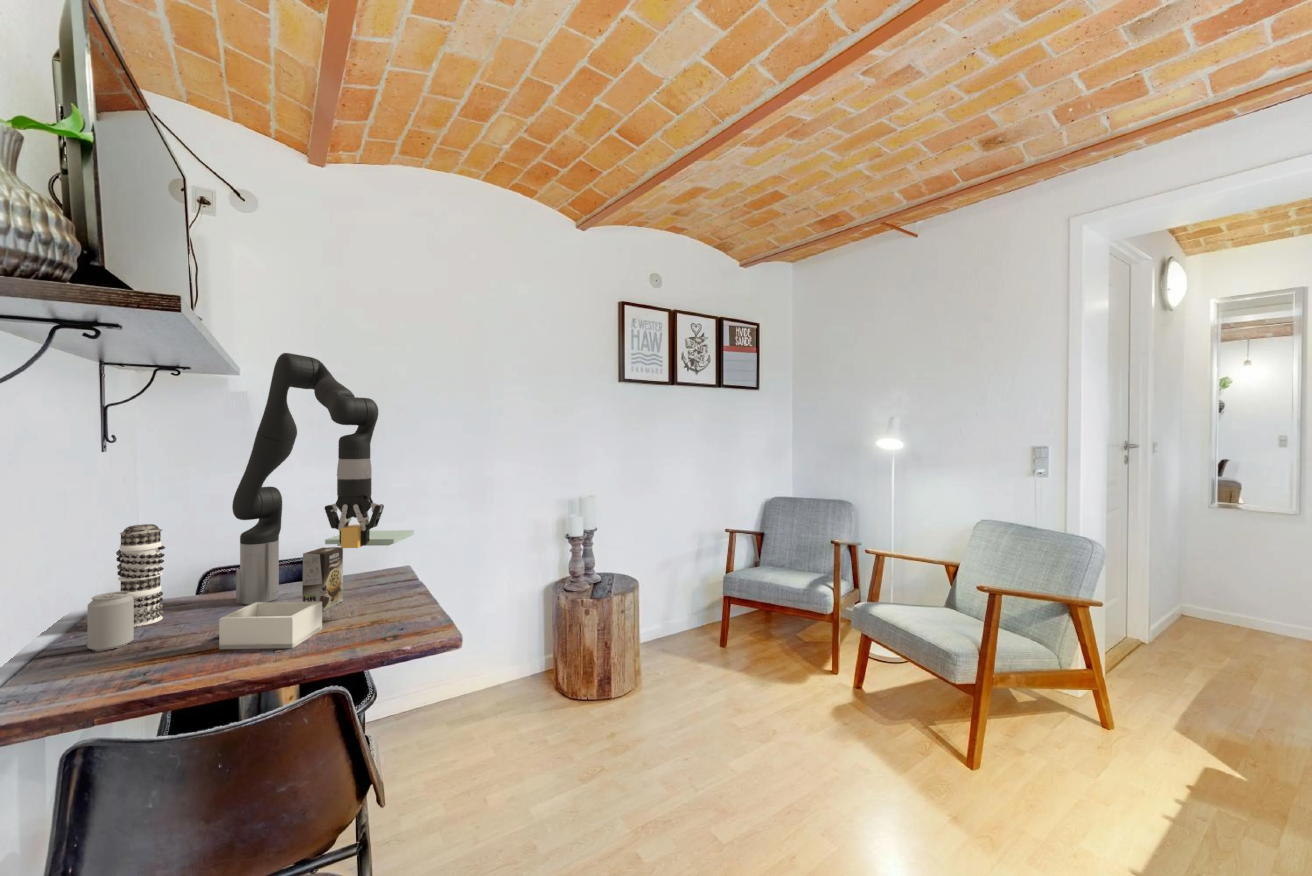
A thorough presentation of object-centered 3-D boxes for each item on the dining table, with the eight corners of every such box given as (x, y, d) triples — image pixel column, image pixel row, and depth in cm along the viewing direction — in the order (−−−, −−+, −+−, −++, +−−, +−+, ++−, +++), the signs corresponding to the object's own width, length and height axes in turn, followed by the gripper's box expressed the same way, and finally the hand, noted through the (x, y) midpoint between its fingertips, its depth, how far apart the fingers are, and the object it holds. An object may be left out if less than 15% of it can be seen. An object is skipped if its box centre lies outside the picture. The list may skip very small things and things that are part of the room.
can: (104, 654, 120) (104, 600, 120) (78, 651, 121) (78, 598, 121) (142, 641, 127) (142, 590, 127) (117, 639, 129) (117, 588, 129)
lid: (313, 551, 133) (313, 527, 133) (351, 538, 151) (351, 517, 151) (384, 551, 134) (384, 527, 134) (413, 537, 152) (413, 516, 152)
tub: (219, 649, 123) (219, 618, 123) (255, 630, 135) (255, 602, 135) (292, 648, 124) (292, 617, 124) (322, 629, 136) (322, 601, 136)
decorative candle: (141, 615, 146) (141, 522, 146) (174, 616, 145) (174, 523, 145) (105, 627, 136) (105, 528, 136) (140, 628, 136) (140, 528, 136)
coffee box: (324, 611, 149) (324, 553, 149) (301, 611, 149) (301, 553, 149) (343, 601, 159) (344, 546, 158) (322, 601, 159) (322, 546, 159)
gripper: (390, 475, 140) (390, 542, 140) (333, 475, 139) (333, 542, 139) (376, 478, 132) (376, 548, 132) (316, 478, 132) (316, 548, 132)
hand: (354, 545), depth 136 cm, fingers closed on lid, 4 cm apart
